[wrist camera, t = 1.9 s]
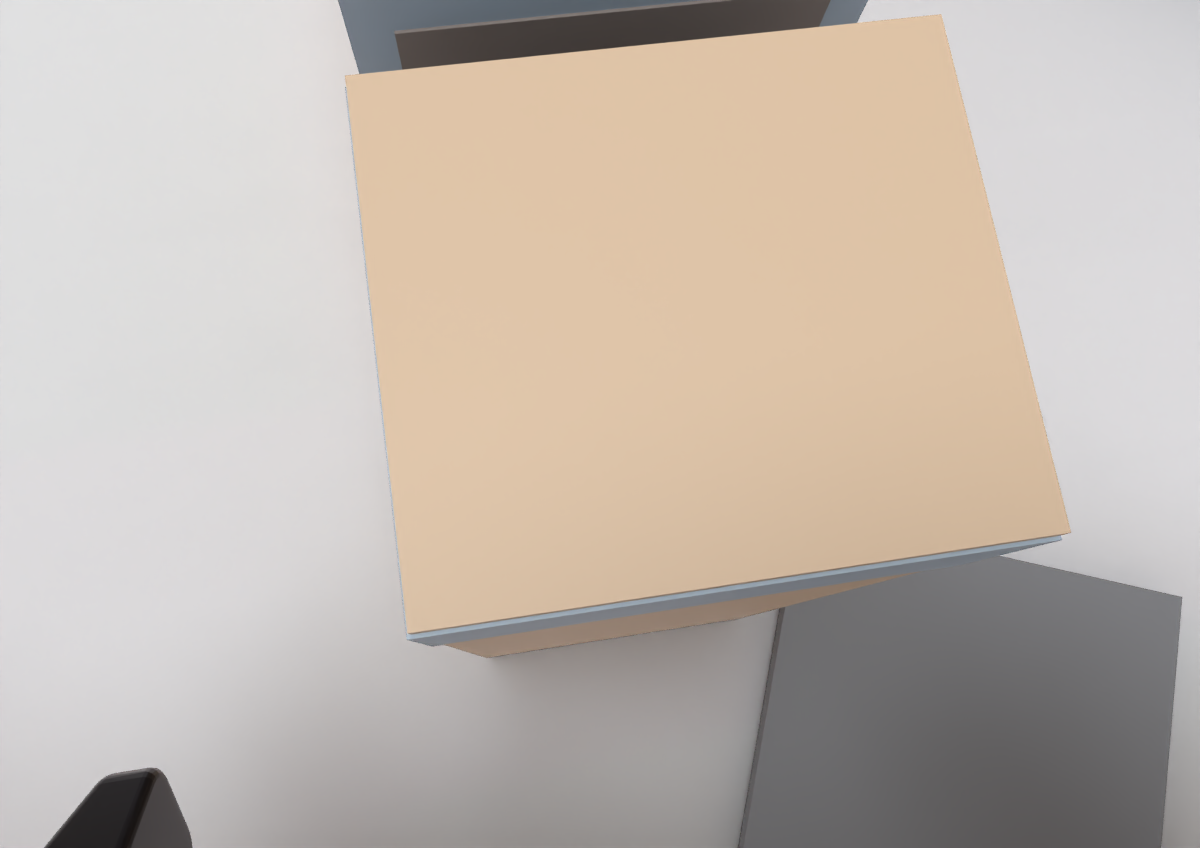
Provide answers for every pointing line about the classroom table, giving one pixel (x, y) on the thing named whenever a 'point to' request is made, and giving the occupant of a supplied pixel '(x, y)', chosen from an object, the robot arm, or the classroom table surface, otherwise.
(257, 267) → the classroom table surface
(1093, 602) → the mat
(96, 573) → the classroom table surface
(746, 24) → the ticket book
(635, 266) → the stub
